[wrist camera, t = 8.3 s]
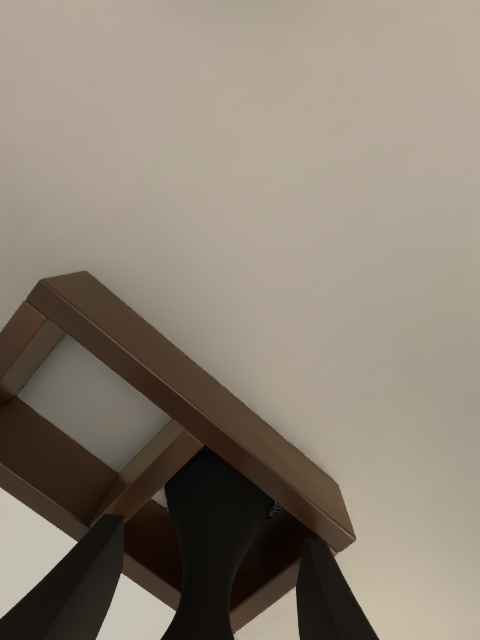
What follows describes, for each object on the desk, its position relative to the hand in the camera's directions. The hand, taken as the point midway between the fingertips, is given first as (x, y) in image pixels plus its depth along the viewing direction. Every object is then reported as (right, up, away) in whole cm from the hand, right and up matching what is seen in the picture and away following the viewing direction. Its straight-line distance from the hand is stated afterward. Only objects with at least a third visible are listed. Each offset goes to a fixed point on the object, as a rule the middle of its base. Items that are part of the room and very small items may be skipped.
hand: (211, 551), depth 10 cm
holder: (-2, +3, +2) cm, 4 cm away
